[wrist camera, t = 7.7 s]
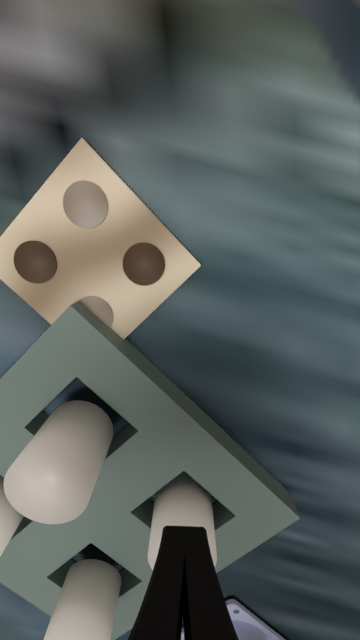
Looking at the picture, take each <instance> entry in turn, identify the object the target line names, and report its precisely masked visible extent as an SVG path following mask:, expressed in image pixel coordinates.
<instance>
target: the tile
mask: <svg viewBox="0 0 360 640" xmlns="http://www.w3.org/2000/svg"><path fill="white" fill-rule="evenodd" d="M200 266H201V264H200V263H199V262H198V261H197V260H196V259H195V258H194V257H193V256H192V255H191V254H190V253H189V251H188V250H187V249H186V248H185V247H184V246H183V245H182V244H181V243H180V242H179V241H178V240H177V239H176V238H175V237H174V235H173V234H172V233H171V232H170V231H169V230H168V229H167V228H166V227H165V226H164V225H163V224H162V223H161V222H160V220H159V219H158V218H157V217H156V216H155V215H154V214H153V213H152V212H151V211H150V210H149V209H148V208H147V207H146V205H145V204H144V203H143V202H142V201H141V200H140V199H139V198H138V197H137V196H136V195H135V194H134V193H133V192H132V190H131V189H130V188H129V187H128V186H127V185H126V184H125V183H124V182H123V181H122V180H121V179H120V178H119V177H118V175H117V174H116V173H115V172H114V171H113V170H112V169H111V168H110V167H109V166H108V165H107V164H106V163H105V162H104V160H103V159H102V158H101V157H100V156H99V155H98V154H97V153H96V152H95V151H94V150H93V149H92V148H91V147H90V146H89V144H88V143H87V142H86V141H85V140H84V139H83V138H81V139H80V140H79V142H78V143H77V144H76V145H75V146H74V148H73V149H72V150H71V151H70V153H69V154H68V155H67V156H66V157H65V159H64V160H63V161H62V162H61V164H60V165H59V166H58V167H57V168H56V170H55V171H54V172H53V173H52V175H51V176H50V177H49V178H48V179H47V181H46V182H45V183H44V184H43V186H42V187H41V188H40V189H39V190H38V192H37V193H36V194H35V195H34V197H33V198H32V199H31V200H30V201H29V203H28V204H27V205H26V206H25V208H24V209H23V210H22V211H21V212H20V214H19V215H18V216H17V217H16V219H15V220H14V221H13V222H12V223H11V225H10V226H9V227H8V228H7V230H6V231H5V232H4V233H3V234H2V236H1V237H0V279H1V280H2V281H3V282H4V283H5V284H7V285H8V286H9V287H10V288H11V289H12V290H13V291H14V292H15V293H17V294H18V295H19V296H20V297H21V298H22V299H23V300H24V301H25V302H27V303H28V304H29V305H30V306H31V307H32V308H33V309H34V310H36V311H37V312H38V313H39V314H40V315H41V316H42V317H43V318H44V319H46V320H47V321H48V322H49V323H50V324H51V325H52V324H53V323H54V322H55V321H56V320H57V319H58V318H59V317H60V315H61V314H62V313H63V312H64V311H65V310H66V309H67V308H68V307H69V306H70V305H72V304H73V303H75V302H77V301H79V300H80V299H81V300H80V301H81V302H82V303H83V304H84V305H85V306H86V307H87V308H88V309H90V310H91V311H92V312H93V313H94V314H95V315H96V316H97V317H98V318H99V319H100V320H101V321H102V322H103V323H105V324H106V325H107V326H108V327H109V328H110V327H111V328H112V329H113V330H114V331H115V332H116V333H117V334H118V335H119V336H120V337H121V338H122V339H123V340H124V339H125V338H126V337H127V336H128V335H129V334H130V333H131V332H132V331H133V330H134V329H135V328H136V327H138V326H139V325H140V324H141V323H142V322H143V321H144V320H145V319H146V318H147V317H148V316H149V315H150V314H151V313H152V312H153V311H154V310H155V309H156V308H157V307H158V306H159V305H160V304H161V303H163V302H164V301H165V300H166V299H167V298H168V297H169V296H170V295H171V294H172V293H173V292H174V291H175V290H176V289H177V288H178V287H179V286H180V285H181V284H182V283H183V282H184V281H185V280H186V279H188V278H189V277H190V276H191V275H192V274H193V273H194V272H195V271H196V270H197V269H198V268H199V267H200Z"/></svg>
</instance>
